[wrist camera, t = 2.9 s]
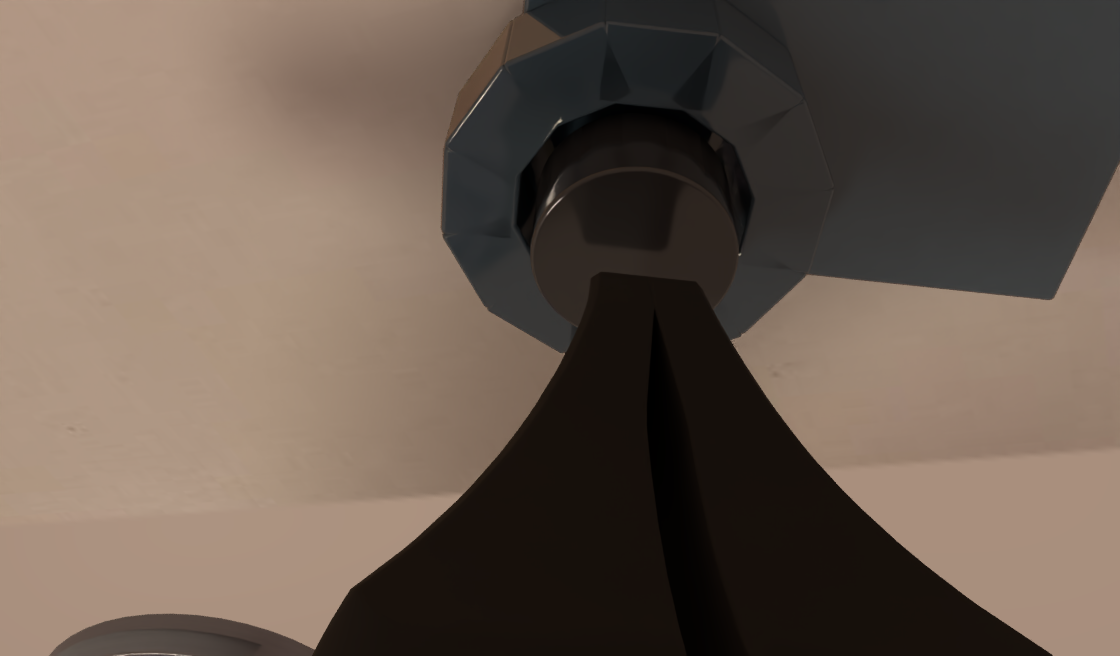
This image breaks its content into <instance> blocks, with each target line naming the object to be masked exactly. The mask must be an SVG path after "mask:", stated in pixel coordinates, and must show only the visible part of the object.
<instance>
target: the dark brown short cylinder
mask: <svg viewBox="0 0 1120 656" xmlns="http://www.w3.org/2000/svg"><path fill="white" fill-rule="evenodd" d="M738 261H739V242H738V235H737V230H736V224H735V218H734V213H733V207H732V201H731V195H730V190H729V184H728V178H727V175H726V172H725V169H724V166H723V164H722V162H721V160H720V158H719V157H718V155H717V154H716V152H715V151H714V149H713V148H712V147H711V146H710V145H709V144H708V143H707V141H706V140H705V139H704V138H702V137H701V136H700V135H699V134H697V133H696V132H695V131H693V130H692V129H690V128H689V127H687V126H685V125H684V124H681V123H679V122H677V121H675V120H672V119H669V118H666V117H663V116H659V115H654V114H648V113H621V114H616V115H610V116H606V117H603V118H600V119H597V120H594V121H592V122H590V123H588V124H586V125H584V126H582V127H580V128H579V129H577V130H575V131H574V132H572V133H571V134H570V135H569V136H567V137H566V138H565V139H564V140H563V141H562V142H561V143H560V144H559V145H558V146H557V147H556V148H555V149H554V151H553V152H552V153H551V155H550V156H549V158H548V159H547V161H546V163H545V165H544V167H543V169H542V172H541V175H540V178H539V182H538V188H537V195H536V203H535V212H534V220H533V228H532V237H531V245H530V262H531V269H532V273H533V276H534V280H535V282H536V284H537V286H538V288H539V291H540V292H541V294H542V295H543V297H544V298H545V300H546V301H547V303H548V304H549V305H550V306H551V307H552V308H553V309H554V311H556V312H557V313H558V314H559V315H560V316H561V317H562V318H564V319H565V320H566V321H568V322H569V323H571V324H572V325H574V326H576V327H578V326H579V324H580V321H581V319H582V316H583V314H584V311H585V308H586V305H587V301H588V295H589V288H590V281H591V278H592V277H593V276H595V275H596V274H598V273H599V272H601V271H602V272H611V273H620V274H630V275H639V276H649V277H658V278H668V279H677V280H687V281H696V282H697V283H698V284H699V286H700V287H701V288H702V289H703V291H704V293H705V295H706V297H707V299H708V301H709V303H710V305H711V307H712V308H713V310H714V309H715V307H716V306H717V305H718V304H719V303H720V302H721V301H722V299H723V298H724V296H725V295H726V293H727V292H728V290H729V288H730V286H731V284H732V282H733V280H734V277H735V274H736V271H737V267H738Z"/></svg>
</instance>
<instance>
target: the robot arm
mask: <svg viewBox="0 0 1120 656" xmlns="http://www.w3.org/2000/svg"><path fill="white" fill-rule="evenodd" d="M312 656H1052V654H1050V653H1049V652H1047V651H1046V650H1044V649H1043V648H1041V647H1040V646H1038V645H1037V644H1035V643H1034V642H1032V641H1031V640H1029V639H1028V638H1026V637H1025V636H1023V635H1022V634H1020V633H1019V632H1017V631H1016V630H1014V629H1013V628H1011V627H1010V626H1008V625H1007V624H1005V623H1004V622H1002V621H1001V620H999V619H998V618H996V617H995V616H993V615H992V614H990V613H989V612H987V611H986V610H984V609H983V608H981V607H980V606H978V605H977V604H976V603H974V602H973V601H971V600H970V599H969V598H967V597H966V596H965V595H963V594H962V593H961V592H959V591H958V590H957V589H955V588H954V587H953V586H952V585H950V584H949V583H948V582H946V581H945V580H944V579H943V578H941V577H940V576H938V575H937V574H936V573H935V572H933V571H932V570H931V569H930V568H928V567H927V566H926V565H924V564H923V563H922V562H921V561H920V560H918V559H917V558H916V557H915V556H914V555H912V554H911V553H910V552H909V551H908V550H906V549H905V548H904V547H903V546H902V545H901V544H899V543H898V542H897V541H896V540H895V539H894V538H893V537H892V536H890V535H889V534H888V533H887V532H886V531H885V530H884V529H883V528H882V527H881V526H880V525H878V524H877V523H876V522H875V521H874V520H873V519H872V518H871V517H870V516H869V515H867V514H866V513H865V512H864V511H863V510H862V509H861V508H860V507H859V506H858V505H857V504H856V503H855V502H854V501H853V500H852V499H851V498H850V497H849V496H848V495H847V494H846V493H845V492H844V491H843V490H842V489H841V488H840V487H839V486H838V485H837V484H836V482H834V480H833V479H832V478H831V477H830V476H829V475H828V474H827V473H826V472H825V470H824V469H823V468H822V467H821V466H820V465H819V464H818V463H817V462H816V461H815V459H814V458H813V457H812V456H811V455H810V454H809V452H808V451H807V450H806V449H805V447H804V446H803V445H802V444H801V442H800V441H799V440H798V439H797V437H796V436H795V435H794V434H793V432H792V431H791V430H790V428H789V427H788V426H787V424H786V423H785V422H784V420H783V419H782V418H781V416H780V415H779V414H778V412H777V411H776V410H775V408H774V407H773V405H772V404H771V403H770V401H769V400H768V398H767V397H766V395H765V394H764V392H763V391H762V389H761V388H760V386H759V385H758V383H757V382H756V380H755V379H754V377H753V376H752V374H751V373H750V371H749V370H748V368H747V367H746V365H745V364H744V362H743V360H742V359H741V357H740V356H739V354H738V352H737V351H736V349H735V347H734V346H733V344H732V342H731V341H730V339H729V337H728V335H727V334H726V332H725V330H724V329H723V327H722V325H721V323H720V321H719V320H718V318H717V316H716V314H715V312H714V310H713V308H712V307H711V305H710V303H709V301H708V299H707V297H706V295H705V293H704V291H703V289H702V288H701V287H700V286H699V284H698V283H697V282H696V281H687V280H677V279H668V278H658V277H649V276H639V275H630V274H620V273H611V272H602V271H601V272H599V273H598V274H596V275H595V276H593V277H592V278H591V281H590V288H589V295H588V301H587V305H586V308H585V311H584V314H583V316H582V319H581V321H580V324H579V326H578V329H577V331H576V333H575V335H574V337H573V339H572V341H571V343H570V345H569V347H568V349H567V351H566V353H565V355H564V357H563V359H562V362H561V364H560V365H559V367H558V369H557V371H556V372H555V374H554V376H553V377H552V379H551V381H550V382H549V384H548V386H547V387H546V389H545V390H544V392H543V394H542V395H541V397H540V398H539V400H538V402H537V403H536V405H535V407H534V408H533V410H532V411H531V412H530V414H529V415H528V417H527V418H526V420H525V421H524V422H523V424H522V425H521V427H520V428H519V429H518V431H517V432H516V433H515V435H514V436H513V437H512V439H511V440H510V441H509V442H508V444H507V445H506V446H505V448H504V449H503V450H502V451H501V453H500V454H499V455H498V456H497V457H496V458H495V460H494V461H493V462H492V463H491V464H490V465H489V466H488V468H487V469H486V470H485V471H484V472H483V473H482V474H481V476H480V477H479V478H478V479H477V480H476V481H475V482H474V484H473V485H472V486H471V487H470V488H469V489H468V490H467V491H466V492H465V493H464V494H463V495H462V496H461V497H460V498H459V499H458V500H457V501H456V502H455V503H454V504H453V505H452V506H451V507H450V508H449V509H448V510H447V511H446V512H444V513H443V514H442V515H441V516H440V517H439V518H438V519H437V520H436V521H435V522H434V523H432V524H431V525H430V526H429V527H428V528H427V529H426V530H425V531H424V532H423V533H422V534H421V535H420V536H418V537H417V538H416V539H415V540H414V541H413V542H411V543H410V544H409V545H408V546H407V547H406V548H404V549H403V550H402V551H401V552H399V553H398V554H396V555H395V556H394V557H393V558H391V559H390V560H389V561H387V562H386V563H385V564H383V565H382V566H381V567H379V568H378V569H377V570H375V571H374V572H373V573H371V574H370V575H369V576H367V577H366V578H365V579H364V580H362V581H361V582H360V583H358V584H357V585H355V586H354V587H353V588H351V589H350V591H349V593H348V595H347V596H346V597H345V599H344V600H343V602H342V604H341V605H340V607H339V609H338V610H337V612H336V613H335V615H334V617H333V618H332V620H331V622H330V624H329V625H328V627H327V629H326V631H325V632H324V634H323V636H322V638H321V640H320V642H319V643H318V645H317V647H316V649H315V651H314V653H313V655H312Z"/></svg>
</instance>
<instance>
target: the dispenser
mask: <svg viewBox="0 0 1120 656" xmlns="http://www.w3.org/2000/svg"><path fill="white" fill-rule="evenodd" d="M621 113H648V114H654V115H659V116H663V117H666V118H669V119H672V120H675V121H677V122H679V123H681V124H684V125H685V126H687V127H689V128H690V129H692V130H693V131H695V132H696V133H697V134H699V135H700V136H701V137H702V138H704V139H705V140H706V141H707V143H708V144H709V145H710V146H711V147H712V148H713V149H714V151H715V152H716V154H717V155H718V157H719V158H720V160H721V162H722V164H723V166H724V169H725V172H726V175H727V178H728V184H729V190H730V195H731V201H732V207H733V213H734V218H735V224H736V230H737V235H738V242H739V261H738V267H737V271H736V274H735V277H734V280H733V282H732V284H731V286H730V288H729V290H728V292H727V293H726V295H725V296H724V298H723V299H722V301H721V302H720V303H719V304H718V305H717V306H716V307H715V309H714V312H715V314H716V316H717V318H718V320H719V321H720V323H721V325H722V327H723V329H724V330H725V332H726V334H727V335H728V337H729V339H730V340H732V339H735V338H738V337H740V336H741V333H742V334H743V333H745V332H746V331H747V330H749V329H750V328H751V327H752V326H753V325H754V324H755V323H756V322H757V321H758V320H759V319H760V318H761V317H763V316H764V315H765V314H766V313H767V312H768V311H769V310H770V309H771V308H772V307H773V306H774V305H775V304H776V303H778V302H779V301H780V300H781V299H782V298H783V297H784V296H785V295H786V294H787V293H788V292H789V291H790V290H792V289H793V288H794V287H795V286H796V285H797V284H798V283H799V282H800V281H801V280H802V279H803V278H804V277H805V276H806V274H807V275H817V276H826V277H835V278H845V279H854V280H864V281H873V282H883V283H892V284H902V285H911V286H921V287H930V288H939V289H949V290H958V291H968V292H977V293H987V294H996V295H1006V296H1015V297H1024V298H1034V299H1043V300H1052V299H1053V298H1054V297H1055V295H1056V292H1057V290H1058V288H1059V286H1060V284H1061V282H1062V280H1063V278H1064V276H1065V274H1066V272H1067V270H1068V268H1069V266H1070V264H1071V262H1072V259H1073V257H1074V255H1075V253H1076V251H1077V249H1078V247H1079V245H1080V243H1081V241H1082V239H1083V237H1084V235H1085V233H1086V231H1087V229H1088V226H1089V224H1090V222H1091V220H1092V218H1093V216H1094V214H1095V212H1096V210H1097V208H1098V206H1099V204H1100V202H1101V200H1102V198H1103V196H1104V193H1105V191H1106V189H1107V187H1108V185H1109V183H1110V181H1111V179H1112V177H1113V175H1114V173H1115V171H1116V169H1117V167H1118V165H1119V163H1120V0H524V4H523V15H520V16H518V17H516V18H515V19H514V20H512V21H510V22H509V23H508V25H507V26H506V27H505V29H504V30H503V32H502V33H501V34H500V36H499V37H498V39H497V40H496V41H495V43H494V44H493V46H492V47H491V49H490V50H489V51H488V53H487V54H486V56H485V57H484V58H483V60H482V61H481V63H480V64H479V65H478V67H477V68H476V70H475V71H474V72H473V74H472V75H471V77H470V78H469V79H468V81H467V82H466V84H465V85H464V87H463V88H462V89H461V91H460V92H459V94H458V98H457V101H456V105H455V108H454V112H453V115H452V119H451V122H450V126H449V129H448V133H447V137H446V140H445V145H444V148H443V172H442V203H441V230H442V233H443V234H442V235H443V239H444V240H445V242H446V244H447V245H448V247H449V248H450V250H451V252H452V253H453V255H454V257H455V258H456V260H457V262H458V263H459V265H460V267H461V268H462V270H463V272H464V273H465V275H466V276H467V278H468V280H469V281H470V283H471V285H472V286H473V288H474V290H475V291H476V293H477V295H478V296H479V298H480V299H481V301H482V303H483V304H484V306H485V307H487V309H488V311H490V312H491V313H493V314H495V315H496V316H498V317H500V318H502V319H503V320H505V321H507V322H508V323H510V324H512V325H514V326H515V327H517V328H519V329H520V330H522V331H524V332H526V333H527V334H529V335H531V336H532V337H534V338H536V339H537V340H539V341H541V342H543V343H544V344H546V345H548V346H549V347H551V348H553V349H555V350H556V351H558V352H560V353H564V352H565V353H566V351H567V349H568V347H569V345H570V343H571V341H572V339H573V337H574V335H575V333H576V331H577V329H578V327H576V326H574V325H572V324H571V323H569V322H568V321H566V320H565V319H564V318H562V317H561V316H560V315H559V314H558V313H557V312H556V311H554V309H553V308H552V307H551V306H550V305H549V304H548V303H547V301H546V300H545V298H544V297H543V295H542V294H541V292H540V291H539V288H538V286H537V284H536V282H535V280H534V276H533V273H532V269H531V262H530V245H531V237H532V228H533V220H534V212H535V203H536V195H537V188H538V182H539V178H540V175H541V172H542V169H543V167H544V165H545V163H546V161H547V159H548V158H549V156H550V155H551V153H552V152H553V151H554V149H555V148H556V147H557V146H558V145H559V144H560V143H561V142H562V141H563V140H564V139H565V138H566V137H567V136H569V135H570V134H571V133H572V132H574V131H575V130H577V129H579V128H580V127H582V126H584V125H586V124H588V123H590V122H592V121H594V120H597V119H600V118H603V117H606V116H610V115H616V114H621Z"/></svg>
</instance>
